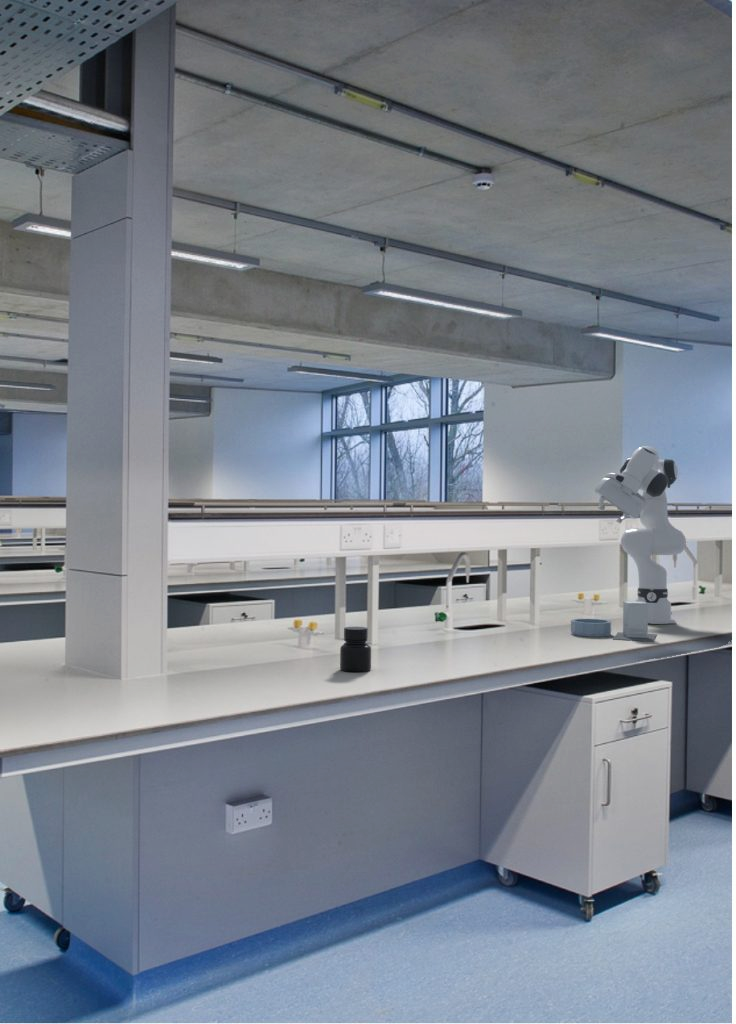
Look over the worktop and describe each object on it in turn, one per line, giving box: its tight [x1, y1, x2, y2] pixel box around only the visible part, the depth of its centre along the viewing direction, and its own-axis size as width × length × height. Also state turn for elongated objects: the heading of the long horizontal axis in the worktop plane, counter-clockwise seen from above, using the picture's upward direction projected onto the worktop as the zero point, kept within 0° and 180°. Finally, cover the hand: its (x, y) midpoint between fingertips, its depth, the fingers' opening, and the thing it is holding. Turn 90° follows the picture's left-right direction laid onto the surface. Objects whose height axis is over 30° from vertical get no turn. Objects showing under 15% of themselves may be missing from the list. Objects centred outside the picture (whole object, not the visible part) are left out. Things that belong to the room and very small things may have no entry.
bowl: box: [570, 618, 612, 638], centre depth 349 cm, size 14×14×5 cm
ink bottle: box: [339, 626, 372, 673], centre depth 267 cm, size 10×9×12 cm
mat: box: [612, 631, 657, 643], centre depth 343 cm, size 20×14×1 cm
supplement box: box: [622, 601, 649, 638], centre depth 343 cm, size 7×7×13 cm
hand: (609, 515), depth 358 cm, fingers open, 8 cm apart
